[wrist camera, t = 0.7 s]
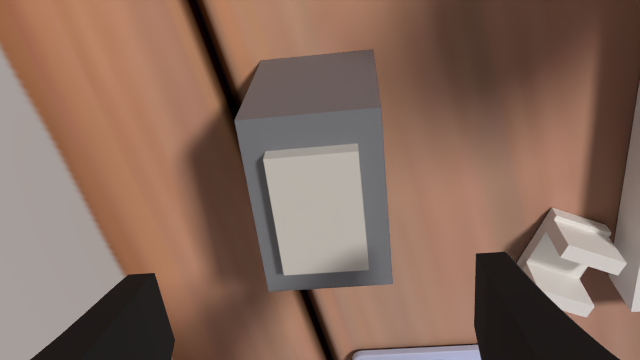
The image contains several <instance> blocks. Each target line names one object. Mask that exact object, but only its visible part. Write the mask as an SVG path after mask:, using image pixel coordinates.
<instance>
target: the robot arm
mask: <svg viewBox="0 0 640 360" xmlns="http://www.w3.org/2000/svg"><path fill="white" fill-rule="evenodd" d="M474 327H475V332H476V337H477V342H478V345H463V346H444V347H424V348H404V349H385V350H365V351H358V352H356V353H354V355H353V356H352V360H620V359H618V358H617V357H616V356H614V355H613V354H612V353H610V352H609V351H608V350H607V349H605V348H604V347H603V346H602V345H601V344H599V343H598V342H597V341H596V340H595V339H593V338H592V337H591V336H590V335H589V334H588V333H586V332H585V331H584V330H583V329H582V328H581V327H580V326H578V325H577V324H576V323H575V322H574V321H573V320H572V319H571V318H570V317H569V316H568V315H566V314H565V313H564V312H563V311H562V310H561V309H560V308H559V307H558V306H557V305H556V304H555V303H554V302H553V301H552V300H551V299H550V298H549V297H548V296H547V295H546V294H545V293H544V292H543V291H542V290H541V289H540V288H539V287H538V286H537V285H536V284H535V283H534V282H533V281H532V280H531V279H530V278H529V277H528V276H527V274H526V273H525V272H524V271H523V270H522V269H521V268H520V267H519V266H518V265H517V264H516V262H515V261H514V260H513V259H512V258H511V257H510V256H509V255H508V254H507V253H506V252H496V253H479V254H476V276H475V316H474ZM174 342H175V339H174V336H173V332H172V329H171V326H170V323H169V319H168V316H167V313H166V309H165V306H164V303H163V300H162V296H161V293H160V290H159V286H158V283H157V280H156V277H155V273H148V274H132V275H128V276H127V277H125V278H124V279H123V280H122V281H121V282H119V283H118V284H117V285H116V286H115V287H114V288H113V289H111V290H110V291H109V292H108V293H107V294H106V295H105V296H104V297H103V298H101V299H100V300H99V301H98V302H97V303H96V304H95V305H94V306H93V307H91V308H90V309H89V310H88V311H87V312H86V313H85V314H84V315H83V316H81V317H80V318H79V319H78V320H77V321H76V322H75V323H73V324H72V325H71V326H70V327H69V328H68V329H67V330H66V331H65V332H63V333H62V334H61V335H60V336H59V337H57V338H56V339H55V340H54V341H53V342H51V343H50V344H49V345H48V346H46V347H45V348H44V349H43V350H42V351H41V352H39V353H38V354H37V355H36V356H34V357H33V358H32V359H31V360H171V357H172V352H173V347H174Z"/></svg>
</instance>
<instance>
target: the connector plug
mask: <svg viewBox="0 0 640 360" xmlns="http://www.w3.org/2000/svg"><path fill="white" fill-rule="evenodd" d="M234 121H235V126H236V131H237V136H238V141H239V146H240V151H241V156H242V161H243V166H244V171H245V176H246V181H247V186H248V191H249V196H250V201H251V206H252V211H253V216H254V221H255V226H256V231H257V236H258V241H259V246H260V251H261V256H262V261H263V266H264V272H265V277H266V282H267V287H268V292H270V291H287V290H303V289H320V288H336V287H353V286H369V285H385V284H393V279H392V264H391V249H390V234H389V219H388V204H387V189H386V174H385V159H384V144H383V129H382V114H381V103H380V96H379V88H378V81H377V73H376V66H375V58H374V50H373V49H372V50H362V51H352V52H342V53H332V54H322V55H312V56H302V57H291V58H281V59H271V60H261V62H260V64H259V66H258V68H257V71H256V73H255V75H254V77H253V80H252V82H251V84H250V86H249V89H248V91H247V93H246V96H245V98H244V100H243V102H242V105H241V107H240V109H239V111H238V114H237V116H236V118H235V120H234Z"/></svg>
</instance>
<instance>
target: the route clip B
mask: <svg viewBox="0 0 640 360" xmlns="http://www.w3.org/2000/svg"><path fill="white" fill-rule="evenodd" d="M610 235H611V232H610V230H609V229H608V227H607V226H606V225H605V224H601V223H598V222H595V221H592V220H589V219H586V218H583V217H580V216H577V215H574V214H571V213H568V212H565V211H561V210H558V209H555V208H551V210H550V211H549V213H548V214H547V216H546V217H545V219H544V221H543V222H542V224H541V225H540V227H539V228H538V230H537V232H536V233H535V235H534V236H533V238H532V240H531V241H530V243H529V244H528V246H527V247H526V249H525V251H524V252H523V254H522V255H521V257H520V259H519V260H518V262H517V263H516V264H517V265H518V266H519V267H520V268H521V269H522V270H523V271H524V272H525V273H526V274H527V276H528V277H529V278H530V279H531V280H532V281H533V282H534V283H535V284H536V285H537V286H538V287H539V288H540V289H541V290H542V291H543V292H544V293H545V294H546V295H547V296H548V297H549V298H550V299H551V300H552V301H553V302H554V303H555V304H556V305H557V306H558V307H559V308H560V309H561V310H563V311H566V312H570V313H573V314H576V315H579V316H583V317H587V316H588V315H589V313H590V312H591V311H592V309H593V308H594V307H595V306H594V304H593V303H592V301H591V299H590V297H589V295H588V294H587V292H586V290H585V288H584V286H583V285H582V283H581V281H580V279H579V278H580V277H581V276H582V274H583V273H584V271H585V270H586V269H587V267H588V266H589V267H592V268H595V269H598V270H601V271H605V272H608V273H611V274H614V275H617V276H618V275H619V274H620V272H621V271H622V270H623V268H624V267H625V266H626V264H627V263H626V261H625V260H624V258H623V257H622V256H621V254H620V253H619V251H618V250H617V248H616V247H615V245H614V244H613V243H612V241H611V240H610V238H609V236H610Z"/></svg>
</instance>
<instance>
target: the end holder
mask: <svg viewBox="0 0 640 360" xmlns="http://www.w3.org/2000/svg"><path fill="white" fill-rule="evenodd" d="M614 245H615V247H616V248H617V250H618V251H619V253H620V254H621V256H622V257H623V258H624V260H625V261H626V263H627V264H626V266H625V267H624V268H623V270H622V271H621V272H620V274H619V275H618V276H617V275H614V274H611V273H609V278H610V279H611V281H612V283H613V284H614V286H615V287H616V289H617V290H618V292H619V294H620V295H621V297H622V298H623V300H624V302H625V303H626V305H627V306H628V308H629V310H630V311H631V312H638V311H640V82H639V88H638V94H637V101H636V107H635V113H634V120H633V126H632V132H631V139H630V145H629V151H628V157H627V164H626V170H625V176H624V183H623V189H622V195H621V202H620V208H619V214H618V220H617V227H616V233H615V239H614Z"/></svg>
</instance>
